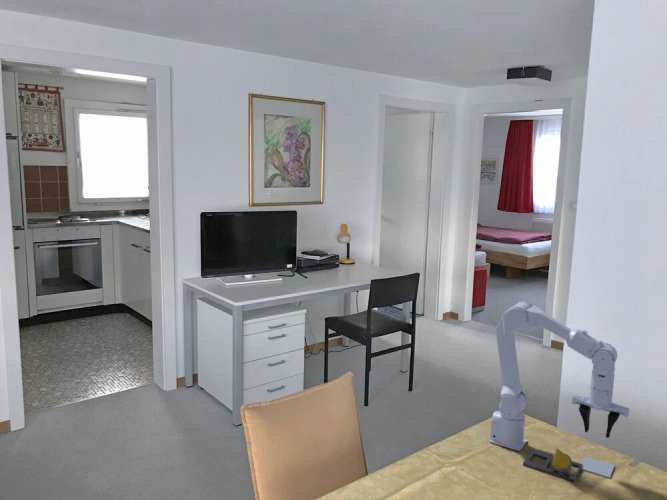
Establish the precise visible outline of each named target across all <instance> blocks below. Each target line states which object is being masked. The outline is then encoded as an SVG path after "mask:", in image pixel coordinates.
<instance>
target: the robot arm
mask: <svg viewBox="0 0 667 500" xmlns="http://www.w3.org/2000/svg"><path fill="white" fill-rule="evenodd" d="M526 324H527V327H542V328H543V329H545V330H547V331H549V332H550V333H553V334H554V335H556V336H558V337H560V338H561V339H563V340H565V342H566V344H567V347H569V349H572V350H573V351H575V352H577V353H578V354H580V355H582V356H583V357H585V358H587V359H588V360H591V363H592V365H593V366H592V370H591V376H590V385H589V386H590V389H589V397H586V396H578V395H573V396H572V397H571V405H579V406H578V407H579V408H578V412H579V413H580V416H581V419H582V423H583V426H584V432H585V433H588V432H589V430H590V419H591V418H590V416H591V410H592V409H594V410H598V411H604V412H609V413H608V414H607V429H606V433H605V438H607V439H608V438H610V435H611V433H612V429H613V427H614V426H615V423H616V422H617V421H618V419H619V417H620V416H623V417H625V418H629V415H630V408H629V407H626V406H623V405H620V404H616V403H614V402H612V401H613V394H614V383H615V370H616V367H615V364H616V361H617V359H618V351H617V349H616V347H614V346H613V345H612V344H610V343H605V342H604V341H603V340H597V339H596V338H594V337H592V336H590V335H589V334H588V331H587V330H585V329H583V330H581V329H571V328H570V327H568V326H566V325H565V324H564V323H562V322H560V321H559V320H557V319H556V318H554V316H553V317H552V316H551V315H550V314H549V313H546V312H545V311H543V309H541V308H540V307H538V306H536V305H532V303H530V302H529V301H524V300H522V301H518V302H517V303H515V305H513V306H511V307H509V308H507V309H506V310H505V311H504V312H503V313H502V315H501V318H500V320H499V322H498V324H497V325H496V327H495V333H496V342H497V351H498V358H499V367H500V368H499V369H500V374H501V375H500V376H501V383H502V388H501V391H500V402H499V405H498V410H495V411H494V412H493V414H492V417H491V423H490V434H489V441H488V442H489V443H491V444H494V445H497V446H502V447H504V448H508V449H510V450H511V449H512V450H515V451H518V452H520V451H521V450H522V449H523V448H524V446H525V445H526V443H528V439H524V434H525V433H524V432H525V422H526V415H525V411H524V410H525V409H526V408H527V407H528V404H529V400H528V397H527V395H526V394H525V391H524V387H523V385H522V384H521V380H520V373H519V371H520V370H519V365H518V364H519V363H518V357H517V356H518V355H517V348H516V340H515V333H516V332H517V331H518V330H519V328H522V327H523V326H525V325H526Z"/></svg>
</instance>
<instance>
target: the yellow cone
mask: <svg viewBox="0 0 667 500" xmlns="http://www.w3.org/2000/svg"><path fill="white" fill-rule="evenodd" d="M550 464H551V466H552V468H553V469H554V471H557V472H560V473H565V472H568V471H570V470H571V469H572V467H573V466H572V458H571V456H570V455H568V454H567V453H564V452H563V451H562V450H560V449H559V448H556V450H555V452H554V455H553V457H552V459H551V462H550Z"/></svg>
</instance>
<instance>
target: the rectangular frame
mask: <svg viewBox="0 0 667 500" xmlns="http://www.w3.org/2000/svg"><path fill="white" fill-rule="evenodd" d="M553 456H554V455H553V454H551V453H550V454H549V453H547V452H543V451H540V450H536V449H532V450H531V451H530V452H529V454H528V456H527V457H526V458H525V459H524V461H523V462H522V466H523V467H526V468H529V469H533V470H537V471H539V472H541V473H546V474H547V475H551V476H555V477H557V478H561V479H563V480H567V481H571V482H572V483H576V481H577V478H578V476H579V474H580V473H581V471H582V470H581V467H582V465H583V464H581V462H576V461H572V460H571V461H572V467H575V468H577V470H576V472H575V474H574V476H573V475H569V474H566V473H565V472H559V471H557V470H555V469H554V470H553V469H551V468H549V466H550V464H551V459H552V457H553ZM534 457H537V458H540V459H542V460H545V462H544V463H543V464H541V463H538V462H534V461H532V459H533V458H534Z"/></svg>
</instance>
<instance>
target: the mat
mask: <svg viewBox="0 0 667 500" xmlns="http://www.w3.org/2000/svg"><path fill="white" fill-rule="evenodd" d="M580 464H583V465H582V467H581V470H580V471H584V472H587V473H590V474H594V475H598V476H600V477H604V478H607V479H611V476H612V475H613V471H614V470H615V467H616V466H615V464H611V463H609V462H606V461H603V460H602V461H601V460H599V459H595V458H591V457H588V456H584V457H583V459H582V461H581V462H580Z"/></svg>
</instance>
